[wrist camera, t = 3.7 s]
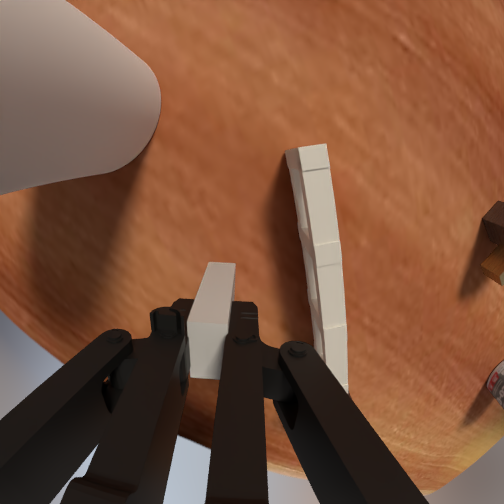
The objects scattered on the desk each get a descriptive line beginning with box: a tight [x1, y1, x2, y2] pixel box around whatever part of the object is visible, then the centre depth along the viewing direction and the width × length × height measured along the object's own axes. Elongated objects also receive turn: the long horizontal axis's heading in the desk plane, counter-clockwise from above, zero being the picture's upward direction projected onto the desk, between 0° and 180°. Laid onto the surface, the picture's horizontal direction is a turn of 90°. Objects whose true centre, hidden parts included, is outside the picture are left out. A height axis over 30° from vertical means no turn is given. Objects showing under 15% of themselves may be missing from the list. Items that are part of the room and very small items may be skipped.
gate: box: [285, 144, 348, 394], centre depth 16 cm, size 14×1×5 cm, turn 11°
